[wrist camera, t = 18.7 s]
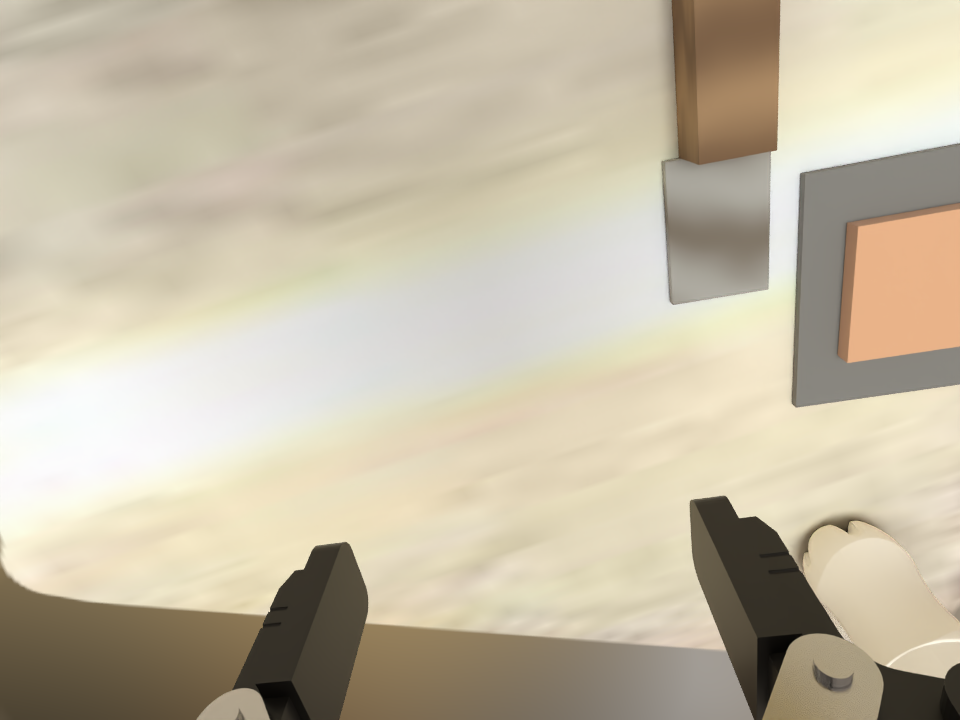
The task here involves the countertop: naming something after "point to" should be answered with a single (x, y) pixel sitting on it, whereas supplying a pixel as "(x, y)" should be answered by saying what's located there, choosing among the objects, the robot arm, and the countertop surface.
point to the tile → (901, 284)
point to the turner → (722, 147)
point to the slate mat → (821, 268)
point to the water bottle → (881, 599)
